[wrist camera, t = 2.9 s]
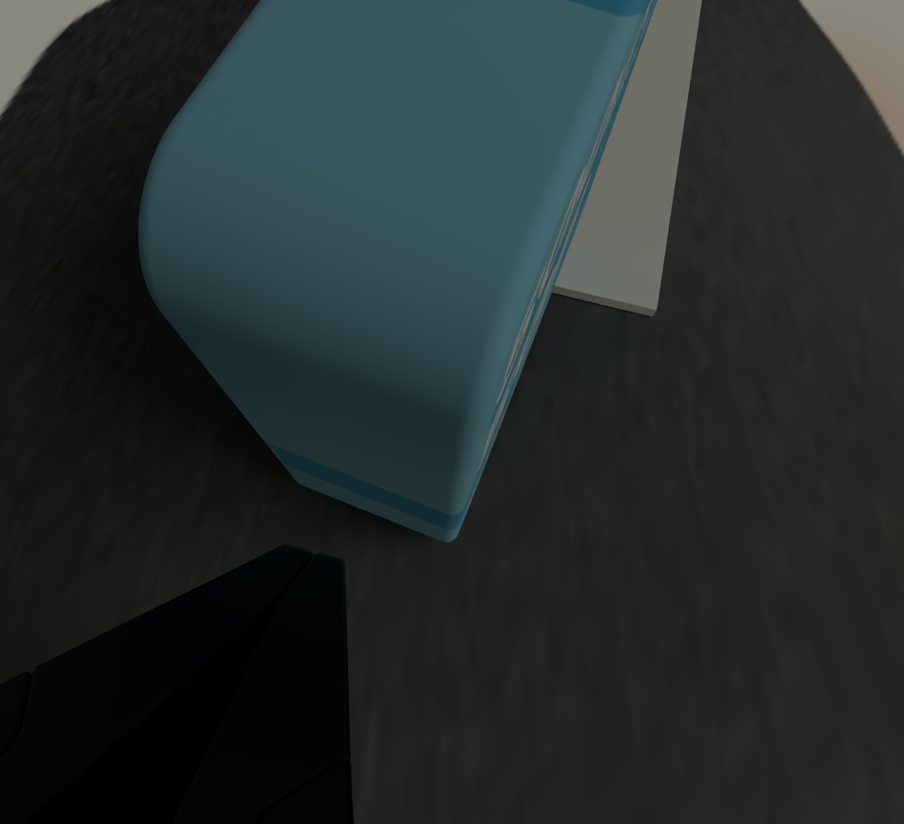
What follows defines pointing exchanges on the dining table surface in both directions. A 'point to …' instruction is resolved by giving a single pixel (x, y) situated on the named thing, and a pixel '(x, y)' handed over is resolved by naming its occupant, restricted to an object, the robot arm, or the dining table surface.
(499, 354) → the blue rounded flat block
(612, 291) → the mat
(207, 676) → the robot arm
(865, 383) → the dining table surface
